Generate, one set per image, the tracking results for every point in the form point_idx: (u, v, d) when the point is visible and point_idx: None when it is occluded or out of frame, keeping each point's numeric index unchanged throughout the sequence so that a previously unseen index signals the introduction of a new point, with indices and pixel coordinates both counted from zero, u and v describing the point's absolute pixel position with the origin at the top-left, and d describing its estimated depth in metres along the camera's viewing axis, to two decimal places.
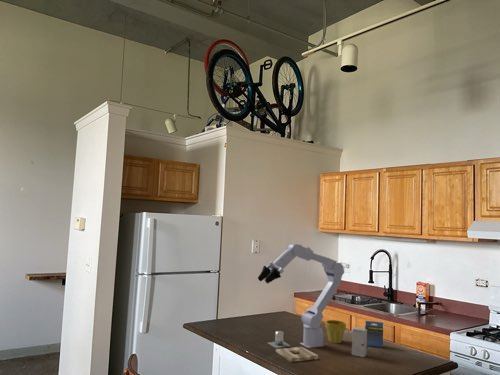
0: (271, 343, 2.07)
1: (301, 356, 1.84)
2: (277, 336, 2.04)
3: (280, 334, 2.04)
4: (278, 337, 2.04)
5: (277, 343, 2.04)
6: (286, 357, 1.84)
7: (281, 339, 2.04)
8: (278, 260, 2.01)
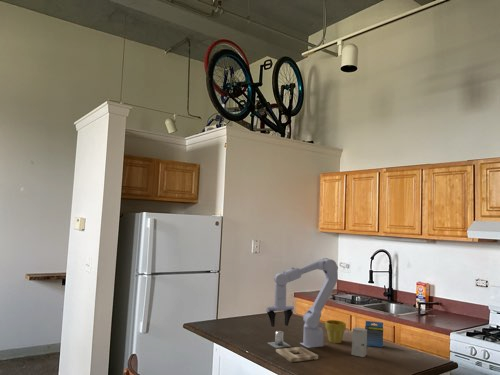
0: (271, 343, 2.07)
1: (301, 356, 1.84)
2: (277, 336, 2.04)
3: (280, 334, 2.04)
4: (278, 337, 2.04)
5: (277, 343, 2.04)
6: (286, 357, 1.84)
7: (281, 339, 2.04)
8: None
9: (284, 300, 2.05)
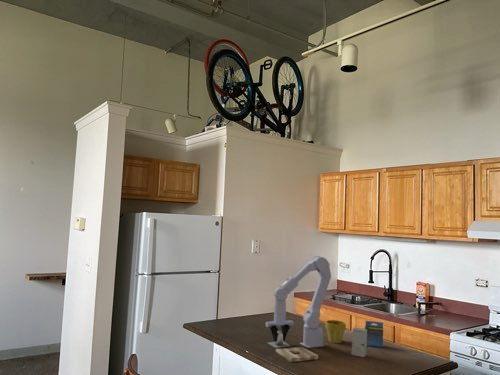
0: (271, 343, 2.07)
1: (301, 356, 1.84)
2: (277, 336, 2.04)
3: (280, 334, 2.04)
4: (278, 337, 2.04)
5: (277, 343, 2.04)
6: (286, 357, 1.84)
7: (281, 339, 2.04)
8: None
9: (284, 315, 2.05)
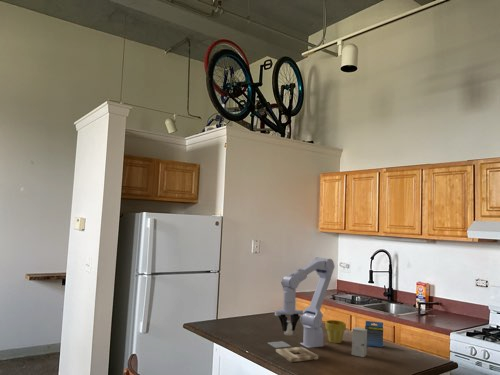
0: (271, 343, 2.07)
1: (301, 356, 1.84)
2: (286, 326, 1.97)
3: (289, 324, 1.97)
4: (287, 327, 1.97)
5: (286, 333, 1.96)
6: (286, 357, 1.84)
7: (290, 329, 1.97)
8: None
9: (293, 304, 1.97)
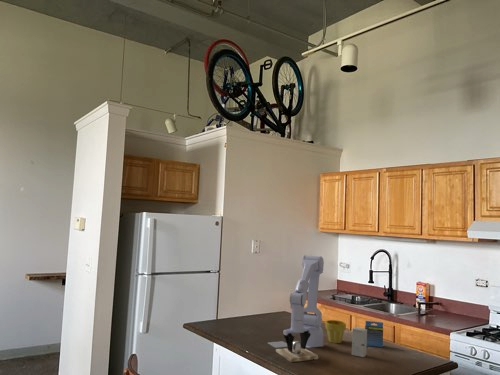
0: (271, 343, 2.07)
1: (301, 356, 1.84)
2: (295, 347, 1.89)
3: (298, 345, 1.89)
4: (296, 348, 1.89)
5: (295, 354, 1.88)
6: (286, 357, 1.84)
7: (299, 350, 1.89)
8: None
9: (302, 322, 1.90)
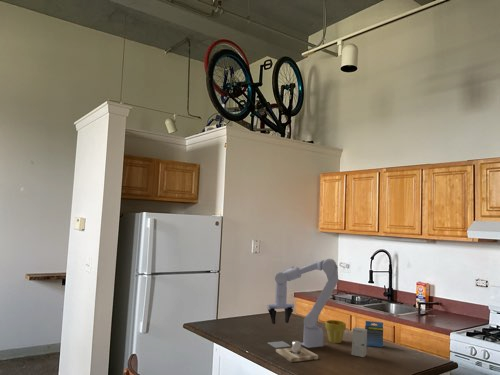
0: (271, 343, 2.07)
1: (301, 356, 1.84)
2: (295, 347, 1.89)
3: (298, 345, 1.89)
4: (296, 348, 1.89)
5: (295, 354, 1.88)
6: (286, 357, 1.84)
7: (299, 350, 1.89)
8: None
9: (284, 298, 2.11)
